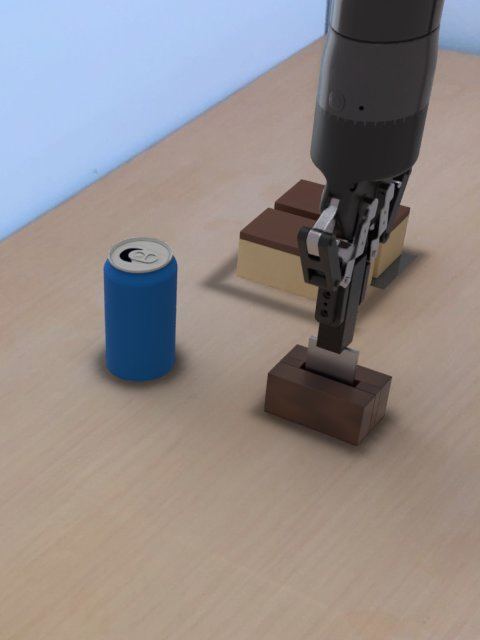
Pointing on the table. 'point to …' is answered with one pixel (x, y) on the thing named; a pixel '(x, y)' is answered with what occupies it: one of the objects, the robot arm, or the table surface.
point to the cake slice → (276, 253)
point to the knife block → (326, 398)
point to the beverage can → (140, 308)
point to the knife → (338, 337)
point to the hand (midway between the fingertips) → (339, 311)
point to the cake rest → (306, 204)
